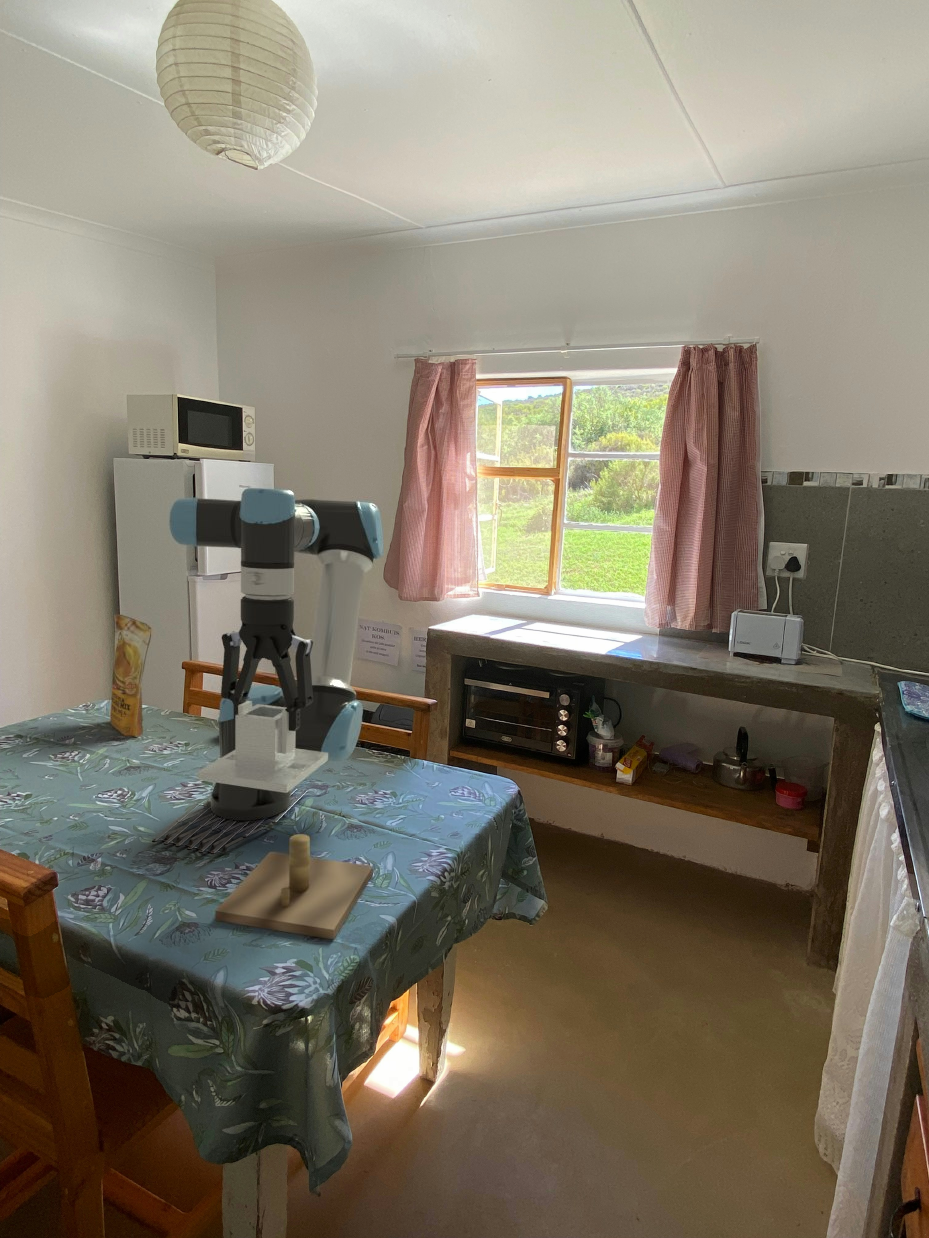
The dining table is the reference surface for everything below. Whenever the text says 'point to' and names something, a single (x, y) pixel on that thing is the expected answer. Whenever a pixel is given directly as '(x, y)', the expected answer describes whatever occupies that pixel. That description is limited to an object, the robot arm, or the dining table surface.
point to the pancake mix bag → (128, 674)
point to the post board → (297, 893)
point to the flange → (262, 755)
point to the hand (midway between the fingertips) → (266, 747)
